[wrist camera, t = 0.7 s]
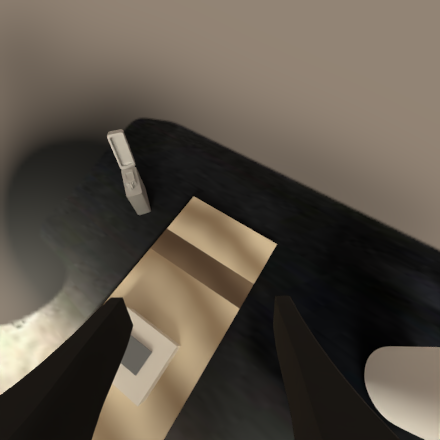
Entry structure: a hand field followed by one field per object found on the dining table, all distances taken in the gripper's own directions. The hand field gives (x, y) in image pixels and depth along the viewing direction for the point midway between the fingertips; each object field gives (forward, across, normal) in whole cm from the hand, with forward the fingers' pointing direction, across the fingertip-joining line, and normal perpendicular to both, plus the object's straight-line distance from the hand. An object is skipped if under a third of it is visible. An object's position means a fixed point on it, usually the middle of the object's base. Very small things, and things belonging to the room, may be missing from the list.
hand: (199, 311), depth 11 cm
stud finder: (+5, +8, +12) cm, 15 cm away
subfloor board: (+9, +6, +11) cm, 15 cm away
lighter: (+22, +11, +3) cm, 25 cm away
